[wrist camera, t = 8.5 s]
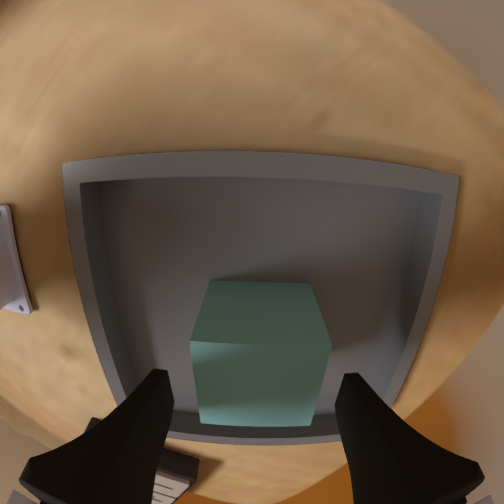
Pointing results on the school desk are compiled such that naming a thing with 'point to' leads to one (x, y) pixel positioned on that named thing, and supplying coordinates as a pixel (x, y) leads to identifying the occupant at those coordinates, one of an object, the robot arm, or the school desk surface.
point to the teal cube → (259, 354)
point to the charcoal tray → (256, 263)
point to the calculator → (169, 474)
